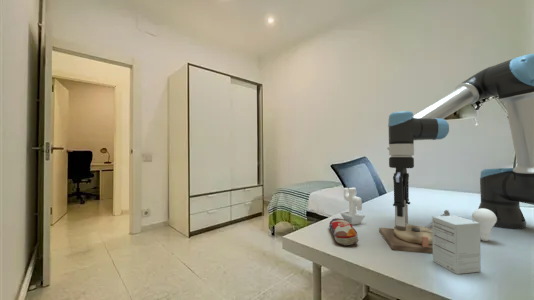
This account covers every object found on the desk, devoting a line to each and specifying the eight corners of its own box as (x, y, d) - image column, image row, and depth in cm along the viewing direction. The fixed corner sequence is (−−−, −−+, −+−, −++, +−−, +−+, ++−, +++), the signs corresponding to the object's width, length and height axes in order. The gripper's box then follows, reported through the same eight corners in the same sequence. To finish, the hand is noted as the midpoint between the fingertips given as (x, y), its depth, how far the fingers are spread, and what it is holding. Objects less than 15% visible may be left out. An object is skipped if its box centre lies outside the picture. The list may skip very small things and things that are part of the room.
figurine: (353, 227, 95) (353, 190, 95) (338, 220, 104) (338, 186, 104) (367, 224, 98) (367, 188, 98) (351, 218, 107) (351, 185, 107)
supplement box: (454, 259, 67) (454, 214, 67) (481, 272, 59) (481, 222, 59) (431, 260, 66) (431, 215, 66) (456, 274, 58) (455, 224, 58)
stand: (435, 235, 85) (435, 231, 85) (463, 255, 69) (463, 250, 69) (379, 231, 90) (379, 227, 90) (392, 250, 73) (392, 245, 73)
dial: (434, 233, 82) (433, 199, 83) (444, 247, 71) (444, 207, 71) (392, 228, 88) (392, 196, 88) (395, 240, 76) (395, 203, 76)
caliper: (447, 224, 98) (447, 209, 98) (450, 225, 97) (450, 210, 97) (419, 233, 88) (419, 216, 88) (422, 234, 87) (422, 217, 87)
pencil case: (323, 244, 78) (323, 229, 78) (330, 226, 96) (330, 214, 96) (358, 250, 74) (358, 234, 74) (359, 230, 92) (358, 217, 92)
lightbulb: (473, 236, 84) (473, 205, 84) (497, 240, 80) (497, 208, 80) (471, 240, 80) (471, 208, 80) (496, 246, 75) (496, 211, 75)
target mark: (426, 245, 72) (426, 236, 72) (428, 247, 71) (428, 237, 71) (422, 245, 73) (422, 235, 73) (423, 247, 72) (423, 237, 72)
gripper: (394, 156, 90) (395, 217, 90) (382, 156, 77) (383, 228, 77) (417, 156, 86) (418, 220, 85) (409, 156, 73) (410, 232, 72)
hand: (402, 224), depth 81 cm, fingers open, 4 cm apart
